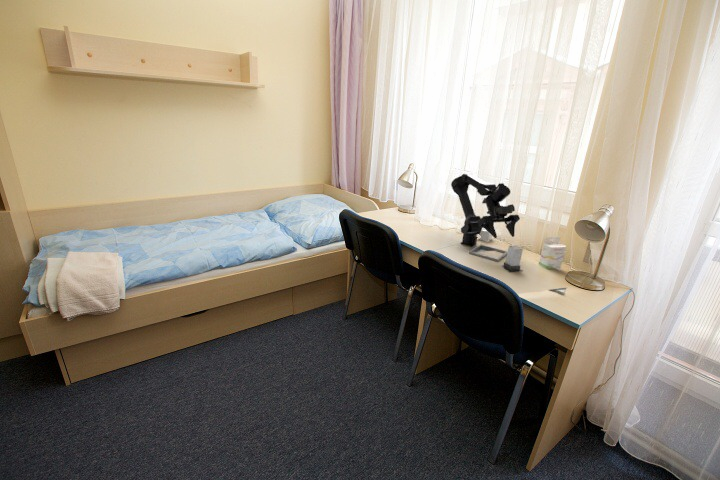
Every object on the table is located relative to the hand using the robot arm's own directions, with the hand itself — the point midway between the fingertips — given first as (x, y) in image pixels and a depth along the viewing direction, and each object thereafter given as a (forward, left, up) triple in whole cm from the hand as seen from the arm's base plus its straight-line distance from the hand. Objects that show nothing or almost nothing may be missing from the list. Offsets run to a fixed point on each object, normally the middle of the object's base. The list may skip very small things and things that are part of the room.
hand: (504, 237), depth 152 cm
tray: (-7, +6, -13) cm, 16 cm away
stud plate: (+7, -4, -13) cm, 15 cm away
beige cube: (-18, +29, -14) cm, 37 cm away
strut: (+7, -4, -12) cm, 14 cm away
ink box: (+19, +12, -14) cm, 26 cm away
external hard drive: (+25, -5, -14) cm, 29 cm away
